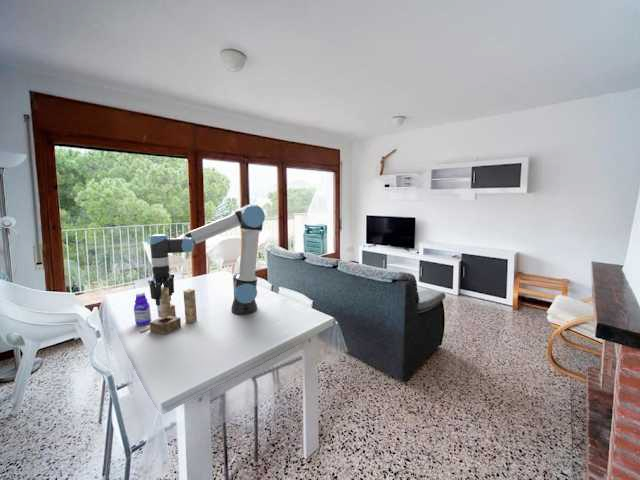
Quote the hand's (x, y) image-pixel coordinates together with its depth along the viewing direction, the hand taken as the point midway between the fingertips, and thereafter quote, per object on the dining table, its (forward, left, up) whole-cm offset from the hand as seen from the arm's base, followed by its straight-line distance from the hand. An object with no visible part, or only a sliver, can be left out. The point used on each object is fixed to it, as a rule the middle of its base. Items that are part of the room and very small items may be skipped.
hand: (164, 309), depth 147 cm
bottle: (0, -17, -11) cm, 21 cm away
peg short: (-12, -11, -11) cm, 20 cm away
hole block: (0, 0, -11) cm, 11 cm away
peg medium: (0, 0, -4) cm, 4 cm away
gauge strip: (0, -8, -11) cm, 14 cm away
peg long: (-12, +5, -11) cm, 17 cm away
